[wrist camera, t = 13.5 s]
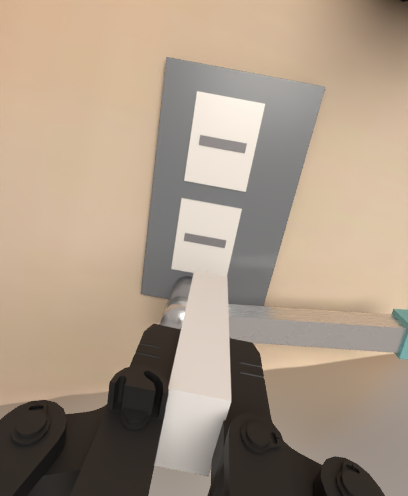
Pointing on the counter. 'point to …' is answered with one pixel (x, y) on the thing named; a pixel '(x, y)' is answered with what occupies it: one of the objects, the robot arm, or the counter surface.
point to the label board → (224, 177)
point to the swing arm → (308, 327)
